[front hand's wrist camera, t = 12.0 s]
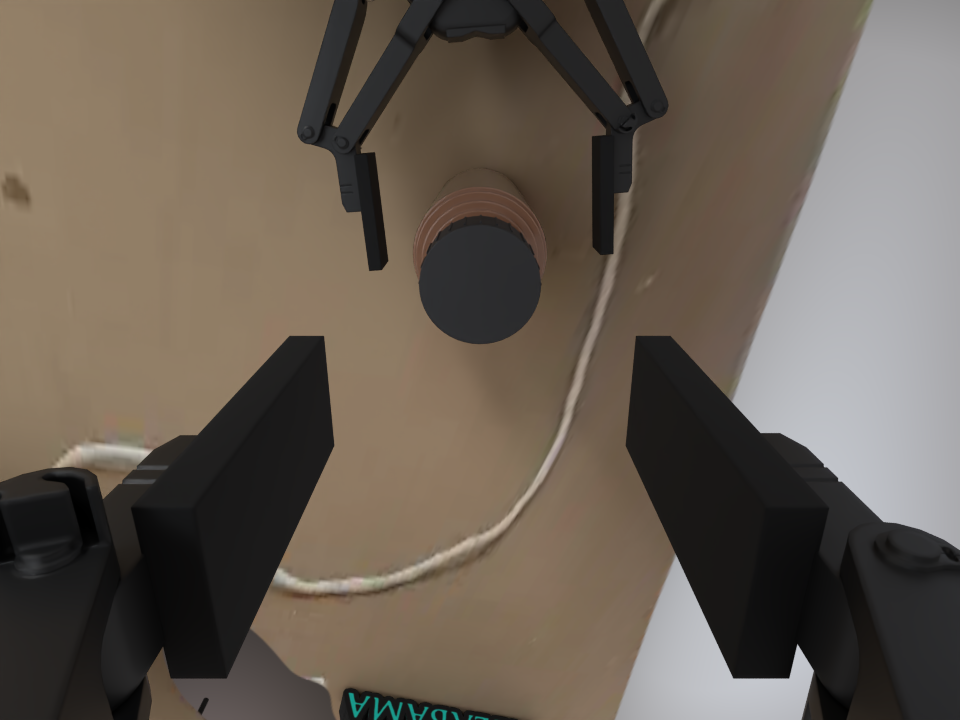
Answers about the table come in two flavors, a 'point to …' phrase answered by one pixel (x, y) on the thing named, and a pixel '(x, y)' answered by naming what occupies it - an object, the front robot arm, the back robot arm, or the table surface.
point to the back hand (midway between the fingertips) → (490, 258)
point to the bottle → (480, 211)
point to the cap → (480, 280)
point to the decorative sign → (400, 709)
